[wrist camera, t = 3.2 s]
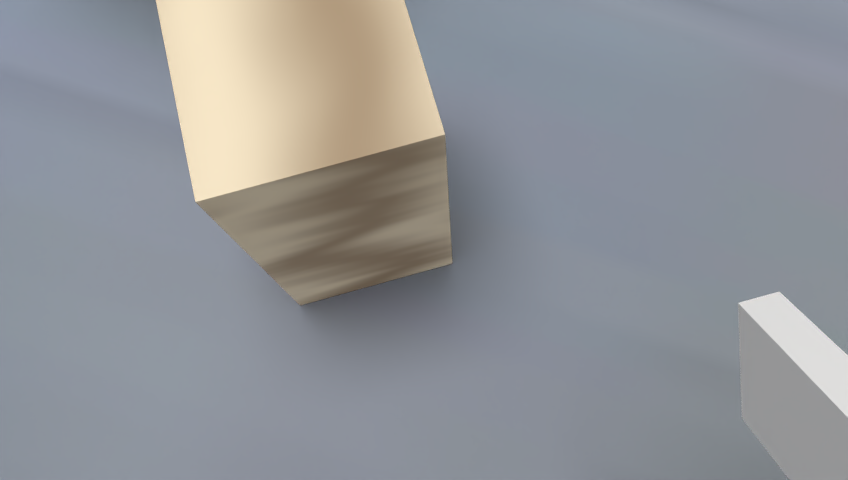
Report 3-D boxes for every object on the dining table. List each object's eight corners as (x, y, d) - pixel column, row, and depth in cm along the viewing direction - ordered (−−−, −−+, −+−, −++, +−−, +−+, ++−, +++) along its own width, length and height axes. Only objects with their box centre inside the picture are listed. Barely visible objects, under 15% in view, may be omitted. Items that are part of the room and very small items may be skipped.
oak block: (300, 305, 29) (195, 201, 18) (267, 164, 31) (152, -14, 20) (452, 263, 30) (444, 134, 18) (411, 125, 31) (381, -73, 20)
